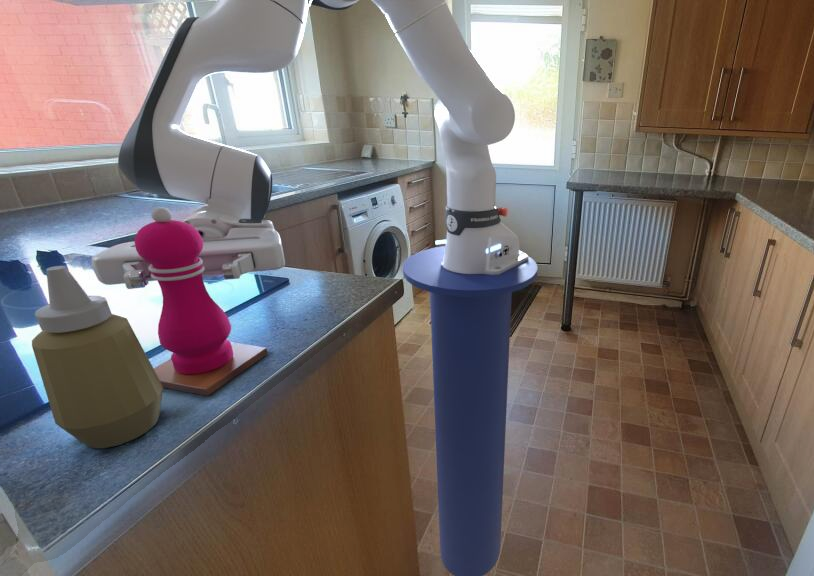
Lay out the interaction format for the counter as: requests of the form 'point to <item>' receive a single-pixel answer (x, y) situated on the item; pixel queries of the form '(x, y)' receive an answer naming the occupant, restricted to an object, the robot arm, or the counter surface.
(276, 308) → the counter surface
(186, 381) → the walnut cutting board
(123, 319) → the squeeze bottle
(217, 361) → the pepper mill
